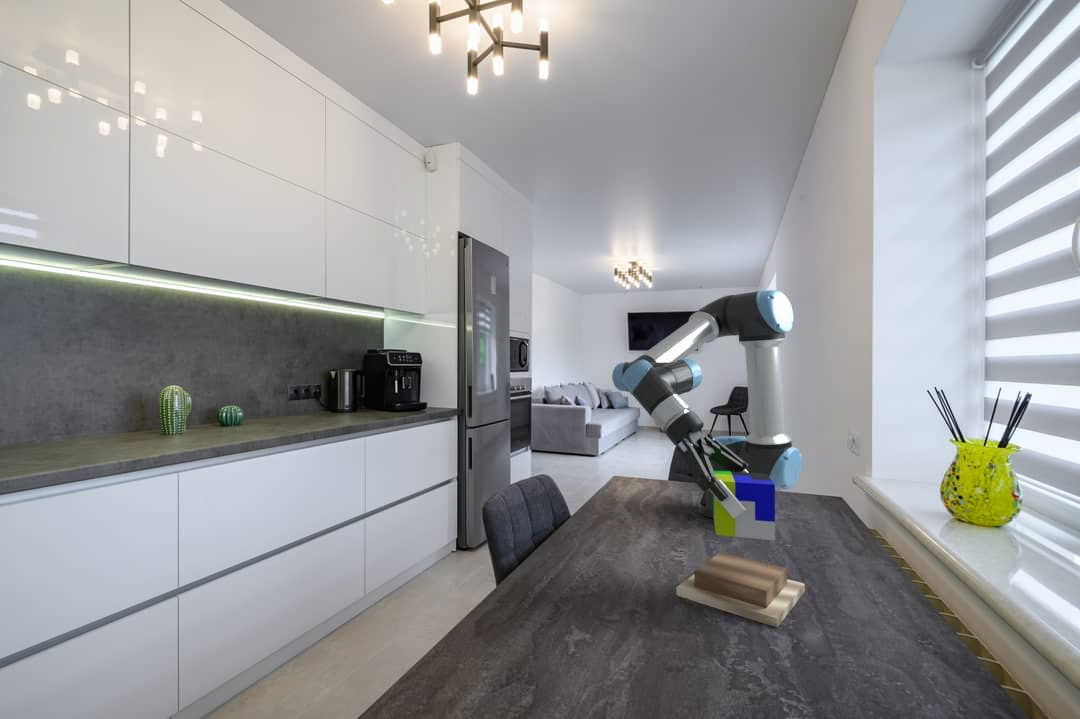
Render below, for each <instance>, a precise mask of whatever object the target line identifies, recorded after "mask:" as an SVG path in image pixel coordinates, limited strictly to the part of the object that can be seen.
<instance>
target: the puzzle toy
mask: <svg viewBox="0 0 1080 719" xmlns="http://www.w3.org/2000/svg"><path fill="white" fill-rule="evenodd" d="M714 473H715V476H716V478H717V481H719V480H721V481H722V482H723V483H724V484H725V485H726V487H727V488H728V489H729V490H730V491H731V492H732V494H733V495H734V496H735V497H736V498H737V499H738V501H739V502H740V503H741V504H742V505H743V506H744V507H745V509H746V510H744V511H743V512H742V513H741V514H739V515H738V516H737V517H736V518H734V519H733V517H732V516H731V515H730V514H729V513H728V511H727V510H726V509H725V508H724V507H723V505H722V504H721V503H720V502H719V501H718V499H717V498H716V497H715V496H714V519H713V523H714V530H715V535H716V536H721V537H722V536H723V537H733V538H743V539H745V538H746V539H755V540H756V539H757V540H765V541H766V540H767V541H776V489H775V484H774V483H773V482H772V480H771V479H770V478H769V476H768V475H767V474H764V473H747V472H730V471H714ZM717 481H716V482H717Z"/></svg>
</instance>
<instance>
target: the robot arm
mask: <svg viewBox="0 0 1080 719" xmlns="http://www.w3.org/2000/svg"><path fill="white" fill-rule="evenodd" d="M793 323H794V312H793V307H792V304H791V303H790V301H789V299H788V298H787V296H786V295H785V293H783V292H781V291H779V290H778V289H777V290H776V289H773V290H771V289H769V290H763V289H762V290H759V291H752V292H745V293H739V294H738V293H737V294H729V295H724V296H722V297H719V298H717V299H715V300H713V301H711V302H709V303H707V304H706V305H705V306H703V307H701V308H699V309H698V310H696V311H695V312H694V313H692V314H691V315H690V316H689V319H688V321H687V322H686V323H684V324H683V325H681V326H680V327H679V328H677V329H676V330H675V331H673V332H672V333H671V334H669V335H668V336H666V337H665V338H664V339H662V340H661V341H660V342H658V343H657V344H655V345H654V346H652V347H651V348H650V349H648V350H647V351H646V352H644V353H643V354H641V355H640V356H638V357H637V358H636V359H634V360H632V361H630V362H629V361H625V362H619V363H617V365H615V367H614V369H613V371H612V374H611V378H612V383H613V385H614V387H615V388H616V390H618V391H620V392H626V393H627V392H628V393H630V395H632V396H633V398H635V400H636V401H637V402H638V403H639V404H640V405H641V406H642V407H643V409H644V410H645V411H646V413H647V414H648V415H649V416H650V417H651V418H652V419H653V421H654V425H655V426H658V427H659V428H660V429H661V430H662V431H663V432H664V431H665V435H666V436H667V438H668V439H669V440H670V442H671V443H672V444H673V445H674V446H675V448H676V450H677V451H678V452H679V454H680V455H681V456H682V458H683V460H684V462H685V464H686V465H687V468H688V470H689V472H690V473H691V475H692V477H693V479H694V480H695V483H696V485H697V486H698V487H699V488H700V489H701V490H702V494H701V498H700V500H699V504H698V512H699V514H701V515H702V516H704V517H706V518H710V519H713V520H714V496H715V497H716V498H717V499H718V501H719V502H720V503H721V504H722V505H723V507H724V508H725V509H726V510H727V511H728V513H729V514H730V515H731V516H732V517H733V519H734V518H736V517H737V516H738V515H739V514H741V513H742V512H743V511H744V510H746V509H745V507H744V506H743V505H742V504H741V503H740V502H739V501H738V499H737V498H736V497H735V496H734V495H733V494H732V492H731V491H730V490H729V489H728V488H727V487H726V485H725V484H724V483H723V482H722V481H721V480H719V481H717V478H716V476H715V473H714V471H730V472H747V473H764V474H767V475H768V476H769V478H770V479H771V480H772V482H773V483H774V484H775V490H783V491H785V490H786V491H787V490H790V489H791V488H792V487H795V485H796V483H797V482H798V479H799V478H800V476H801V472H802V469H803V455H802V453H801V451H800V449H798V448H797V447H794V446H793V442H792V437H790V436H789V435H788V434H787V433H786V431H785V429H786V428H785V412H784V399H783V398H784V397H783V396H784V395H783V385H782V384H783V382H782V369H781V368H782V366H781V355H780V354H781V352H780V350H781V349H780V348H781V347H780V346H781V344H782V343H783V342H784V341H785V340H786V333H788V332H790V331H791V330H792V328H793ZM730 336H732V337H734V336H738V343H739V344H740V345H741V346H743V347H744V349H745V362H746V363H745V364H746V366H745V367H746V379H747V382H746V383H747V394H748V395H747V396H748V407H749V408H748V410H749V411H748V412H749V424H750V433H749V434H748V435H747V436H745V435H726V436H725V435H724V436H714V434H713V433H712V432H709V433H708V434H707V435H705V434H704V433H703V432H702V429H703V428H704V426H705V423H704V421H703V420H702V419H701V418H700V417H699V416H698V415H697V413H696V412H695V411H692V410H691V406H689V404H688V403H687V402H686V400H684V399H683V398H682V397H681V396H680V395H682V394H685V393H689V392H691V391H692V390H695V389H697V388H698V387H700V385H701V383H702V381H703V371H702V368H701V366H700V365H699V364H698V362H696V361H695V360H693V359H691V358H687V357H689V356H690V355H691V354H693V353H694V352H695V351H696V350H698V349H699V348H700V347H701V346H703V345H704V344H705V343H706V344H708V343H709V344H710V343H713V342H714V341H715V340H717V339H718V338H722V337H723V338H724V337H730ZM716 481H717V482H716Z"/></svg>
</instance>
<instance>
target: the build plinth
mask: <svg viewBox="0 0 1080 719" xmlns="http://www.w3.org/2000/svg"><path fill="white" fill-rule="evenodd" d="M805 584H806V583H804V582H799V581H795V580H791V579H788V568H787V567H786V568H785V567H782V566H778V565H775V564H769V563H765V562H762V561H757V560H753V559H749V558H745V557H741V556H737V555H733V554H730V553H729V554H728V553H724V552H722V551H721V552H719V553H717V554H716V555H715V556H713V557H712V558H710V559H709V560H708V561H706V562H705V563H703V564H702V565H701V566H700V567H698V568H696V569H695V570H694V574H693V575H692V576H690V577H688V578H687V579H685V580H684V581H683V582H682V583H680V584H679V585H677V586H676V588H675V590H676V596H677V595H678V596H677V597H681V598H684V599H686V598H687V600H690V601H693V602H696V603H699V604H703V605H706V606H708V607H711V608H713V609H718V610H720V611H721V610H722V611H724V612H728V613H731V614H734V615H737V616H740V617H744V618H745V619H750V620H753V621H754V622H755V621H756V622H758V623H762V624H765V625H768V626H772V627H774V628H779V626H780V625H781V624H782V623H783V621H784V620H785V619H786V617H787V616H788V614H789V613H790V612H791V610H793V608H794V606H795V605H796V604H797V602H798V601H799V600H800V598H801V597H802V596H803V594H804V593H805V591H806V590H805V589H806V587H805V586H806V585H805Z"/></svg>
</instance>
